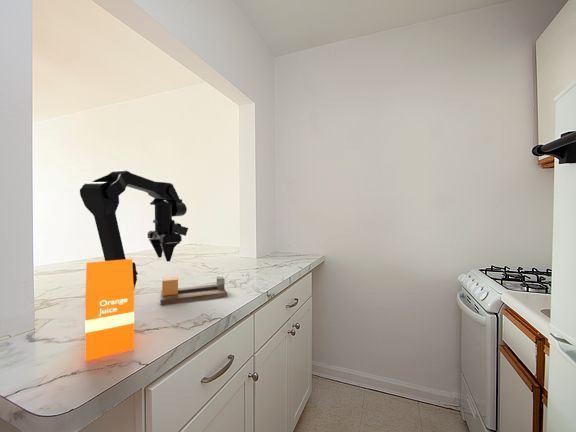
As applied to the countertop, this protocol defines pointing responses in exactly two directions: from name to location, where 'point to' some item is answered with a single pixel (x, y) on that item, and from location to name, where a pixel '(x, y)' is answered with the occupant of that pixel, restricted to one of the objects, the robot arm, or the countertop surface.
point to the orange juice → (109, 308)
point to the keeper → (169, 286)
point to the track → (196, 293)
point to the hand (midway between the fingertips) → (164, 259)
